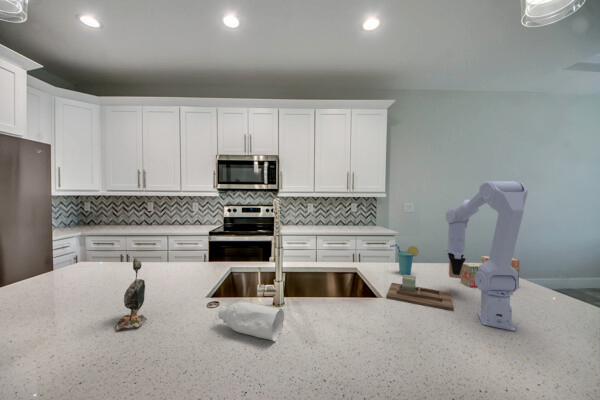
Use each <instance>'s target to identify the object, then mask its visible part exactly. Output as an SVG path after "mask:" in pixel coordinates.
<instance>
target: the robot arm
mask: <svg viewBox="0 0 600 400" xmlns="http://www.w3.org/2000/svg"><path fill="white" fill-rule="evenodd" d="M478 189H479V191H478V192H477V193H476V194H475V195H473V197H472V198H471V199H463V200H462V202H461V203H460V204H458V205H457V206H456V207H454V208H448V209H447V211H446V213H445V220H446V222H447V223H448V238H447V239H448V242H447V245H448V246H447V248H444V251H445V252H447V255H448V258H449V259H448V260H450V261H451V265H452V271H453V274H454V275H460V272H461V268H462V265H463V263H466V262H465V261H467V260H466V258H465V255H464V254H466V250H465V249H466V229H467V227H468V223H469V221H470V218H471V217H472V216H474V215H475V214H477V213H478V212H479V211H480V207H482V206H484V205H485V204H487V205H488V206H489V207H490V208H491V209H493V210H494V211H496V213H498V215H497V220H496V224H495V228H494V234H493V238H492V242H491V245H490V246H491V248H490V252H489V260H488V261H487V262H485V263H483V264H481V265H480V266H479V270H478V271H477V272H476V274H475V283H476V285H477V287H476V288H477V289H478V290H479V291H480V310H477V311H476V312H477V314H478V317H479V320H480V322H481V324H482V325H484V326H489V327H494V328H499V329H504V330H509V331H512V332H516V331H517V330H516V328H515V327H514V325H513V322H512V319H513V318H512V316H513V315H512V314H513V308H512V307H511V296H514V295H513V294H514V293H515V292H516V291H517V290H518V289H519V288H518V279H517V278H518V272H517V271H516V270H515V269H514V268H513V267H511V266H510V265H511V261H512V258H514V257H513V256H514V252H515V248H516V244H517V241H518V236H519V234H520V233H519V232H520V228H521V224H522V220H523V215H524V210H525V209H524V208H525V205H526V201H527V196H528V193H529V192H528V191H529V190H528V189H527V187H526V186H525V184H524V183H523V182H522V181H519V180H509V181H508V180H507V181H506V180H505V181H504V180H503V181H502V180H501V181H499V180H495V181H494V180H485V181H484V182H483V183H482V184H480V186H479V188H478Z"/></svg>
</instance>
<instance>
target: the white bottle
mask: <svg viewBox="0 0 600 400" xmlns="http://www.w3.org/2000/svg"><path fill="white" fill-rule="evenodd" d="M217 315H218V318H219V320H222V322H223V324H226V326H227V327H229V328H230V329H232V330H233V331H234V332H237V333H239V334H243V335H247V336H248V335H249V336H253V337H255V338H260V339H264V340H265V339H266V340H270V341H272V342H277V339H279V334H280V332H282V330H283V328H284V321H285V312H284V310H283V309H282V308H277V307H271V306H267V305H261V304H257V303H251V302H246V301H245V302H244V301H243V302H235V303H232V304H231V305H230V306H225V305H221V307H220V309H219V311H218V314H217Z"/></svg>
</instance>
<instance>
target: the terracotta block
mask: <svg viewBox="0 0 600 400" xmlns="http://www.w3.org/2000/svg"><path fill="white" fill-rule="evenodd" d="M448 276H449V278H453V279H460V280H461V279H463V265H462V268H461V272H460V275H454V274H453V271H452V265H451V261H450V259H448Z"/></svg>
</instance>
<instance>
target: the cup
mask: <svg viewBox="0 0 600 400" xmlns="http://www.w3.org/2000/svg"><path fill="white" fill-rule="evenodd" d="M389 246H390V248H392V247H393V248H394V247H397V250H398V251H397V256H398V269H399V271H398V272H399V275H401V274H402V276H403V275H410V276H412V274H411V273H412V267H413V266H412V265H413V257H416V256H418V254H419V252H420V251H419V248H418V247H416V246H414V245H412V246H409V247H408V248H407V251H406V250H405V251H404V250H401V249H400V246H399V245H398V244H396V243H395V244H391V245H389Z"/></svg>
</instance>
